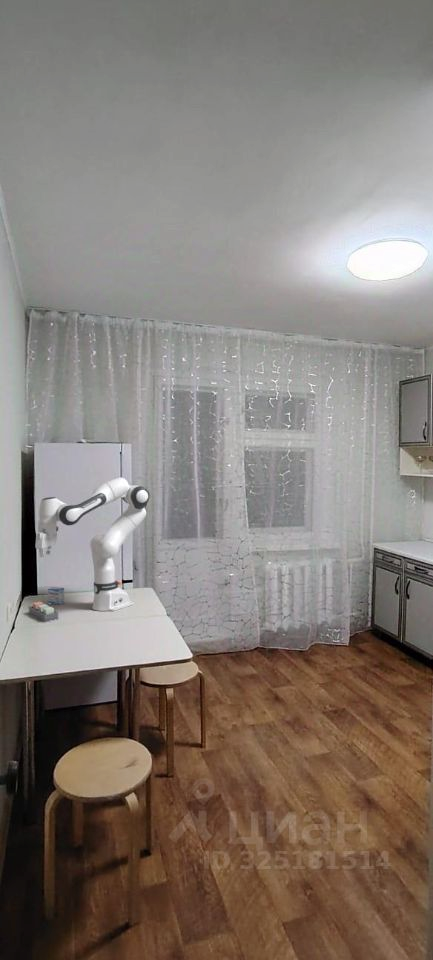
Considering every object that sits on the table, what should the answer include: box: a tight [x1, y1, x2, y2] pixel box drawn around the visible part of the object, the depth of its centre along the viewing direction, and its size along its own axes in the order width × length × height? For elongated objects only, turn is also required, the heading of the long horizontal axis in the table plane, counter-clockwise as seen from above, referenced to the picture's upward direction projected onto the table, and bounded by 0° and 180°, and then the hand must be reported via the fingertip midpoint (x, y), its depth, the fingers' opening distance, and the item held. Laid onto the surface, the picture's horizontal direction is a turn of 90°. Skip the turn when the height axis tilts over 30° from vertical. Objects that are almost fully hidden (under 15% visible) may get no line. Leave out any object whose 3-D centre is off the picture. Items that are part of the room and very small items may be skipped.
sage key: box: [43, 606, 55, 615], centre depth 252 cm, size 4×4×3 cm
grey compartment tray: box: [28, 605, 59, 623], centre depth 257 cm, size 7×20×4 cm, turn 42°
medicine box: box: [47, 586, 65, 605], centre depth 280 cm, size 8×4×9 cm, turn 73°
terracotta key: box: [32, 601, 44, 609], centre depth 262 cm, size 4×4×3 cm
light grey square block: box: [38, 603, 50, 612], centre depth 257 cm, size 4×4×3 cm
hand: (45, 555), depth 254 cm, fingers open, 8 cm apart
